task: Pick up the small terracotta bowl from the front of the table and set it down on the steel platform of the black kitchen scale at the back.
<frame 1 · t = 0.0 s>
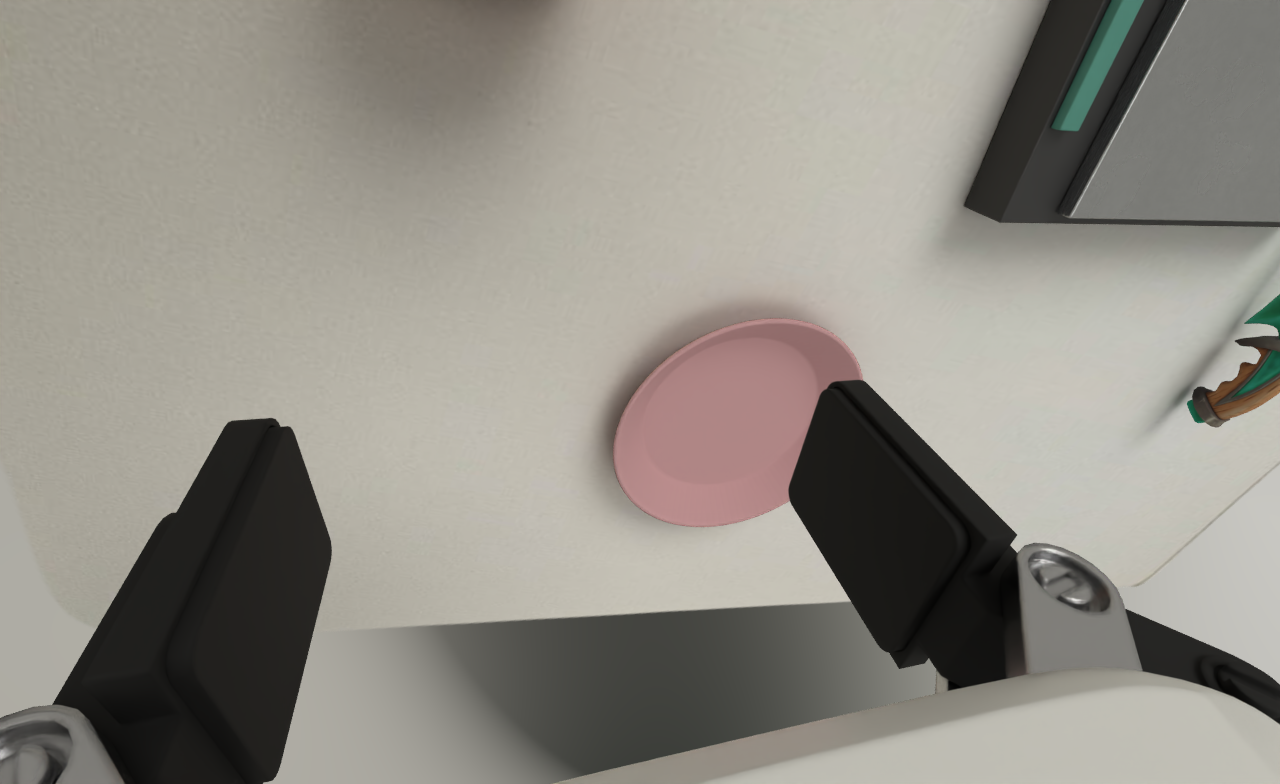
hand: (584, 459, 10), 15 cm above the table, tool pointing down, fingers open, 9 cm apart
knife: (1274, 275, 36), on the table
scale: (1235, 62, 26), on the table
plate: (728, 412, 32), on the table
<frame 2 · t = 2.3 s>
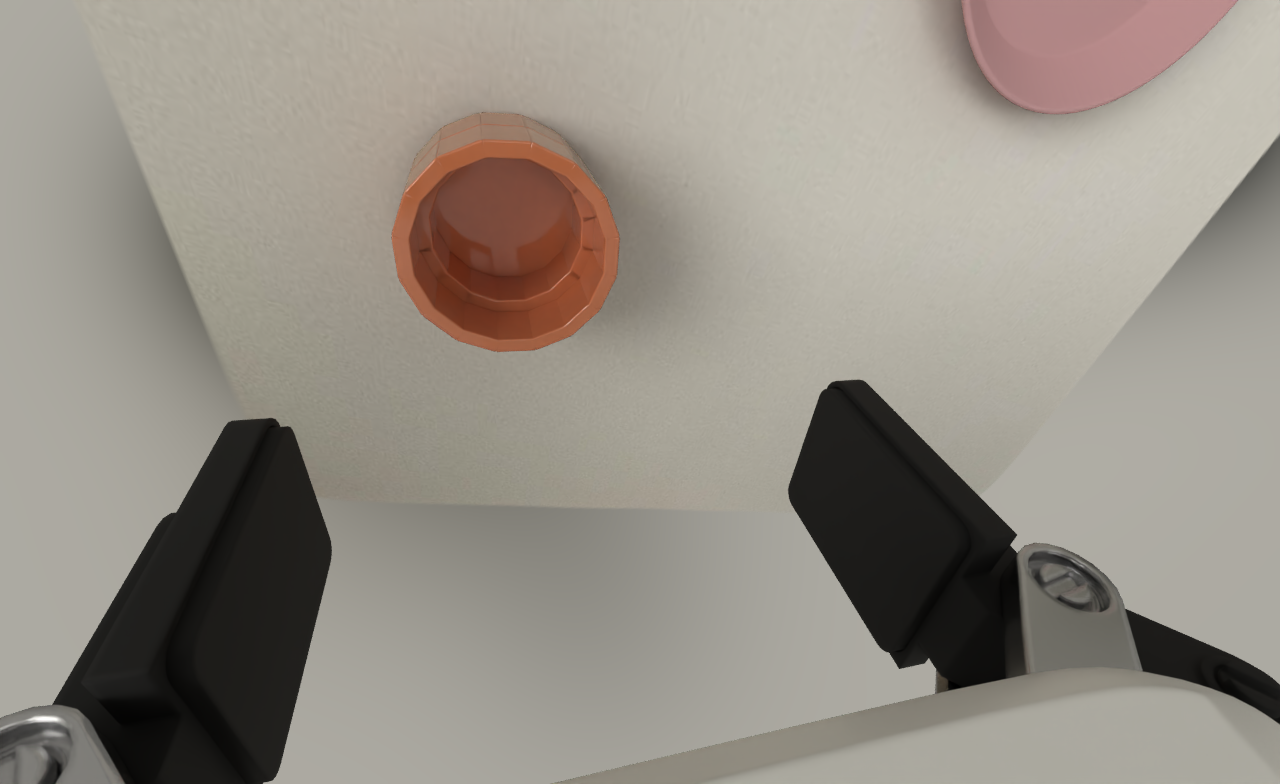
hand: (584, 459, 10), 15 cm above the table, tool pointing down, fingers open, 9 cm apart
bowl: (504, 208, 22), on the table
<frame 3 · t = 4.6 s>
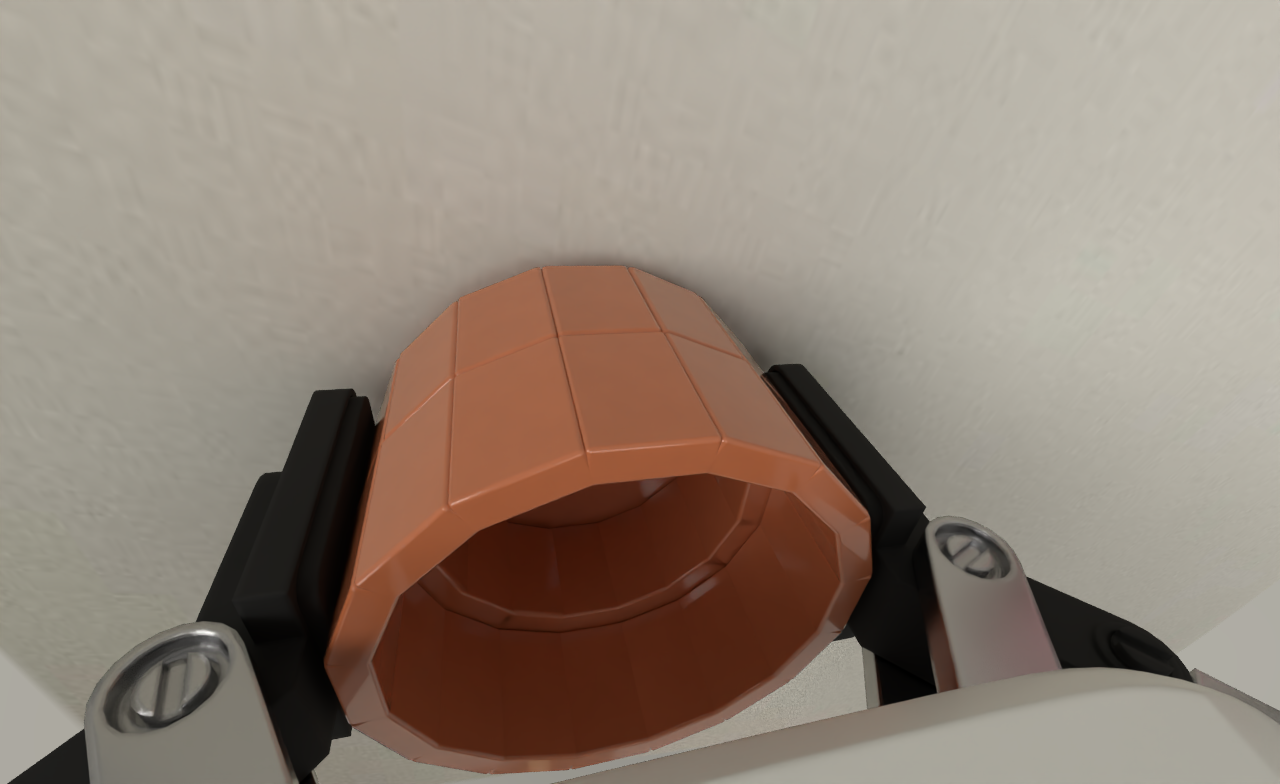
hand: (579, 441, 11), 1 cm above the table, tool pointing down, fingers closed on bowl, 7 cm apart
bowl: (573, 415, 11), on the table, touching gripper
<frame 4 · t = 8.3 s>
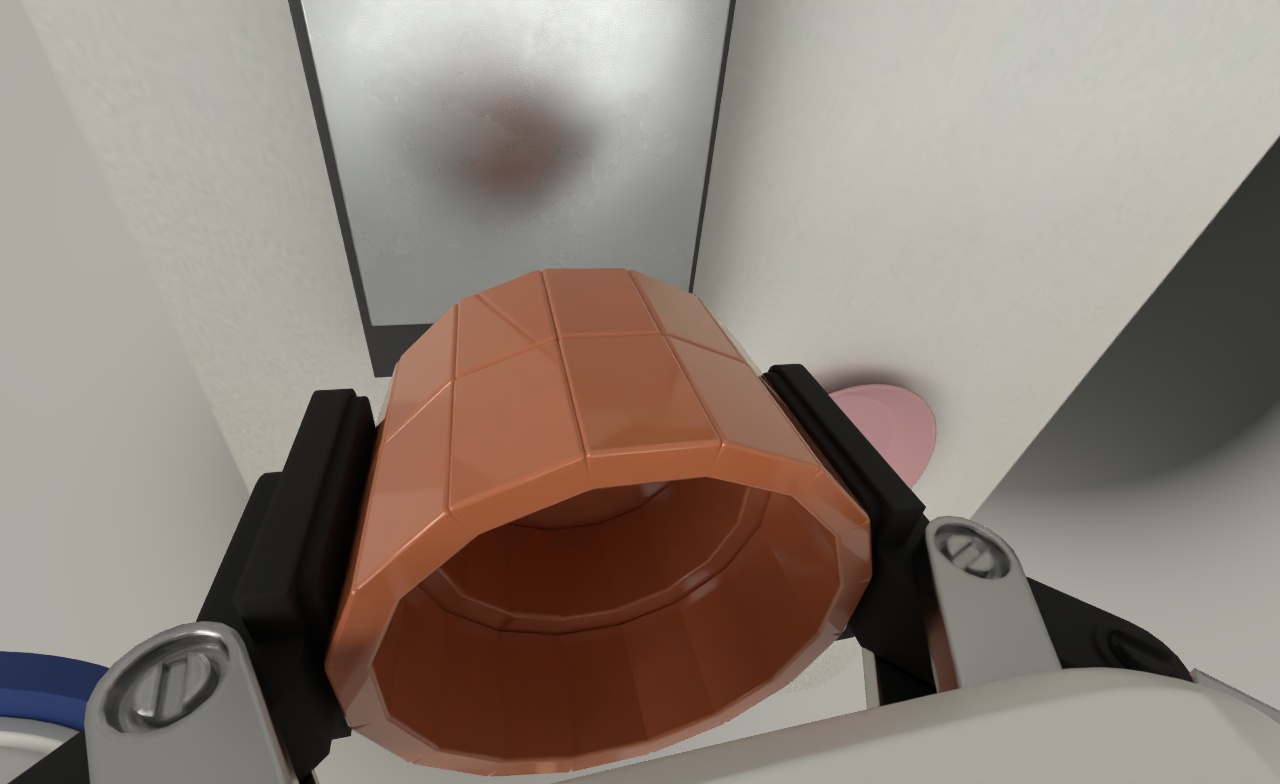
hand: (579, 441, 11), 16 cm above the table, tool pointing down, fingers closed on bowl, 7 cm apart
bowl: (573, 417, 11), point 15 cm above the table, touching gripper
scale: (525, 61, 21), on the table
plate: (819, 453, 38), on the table
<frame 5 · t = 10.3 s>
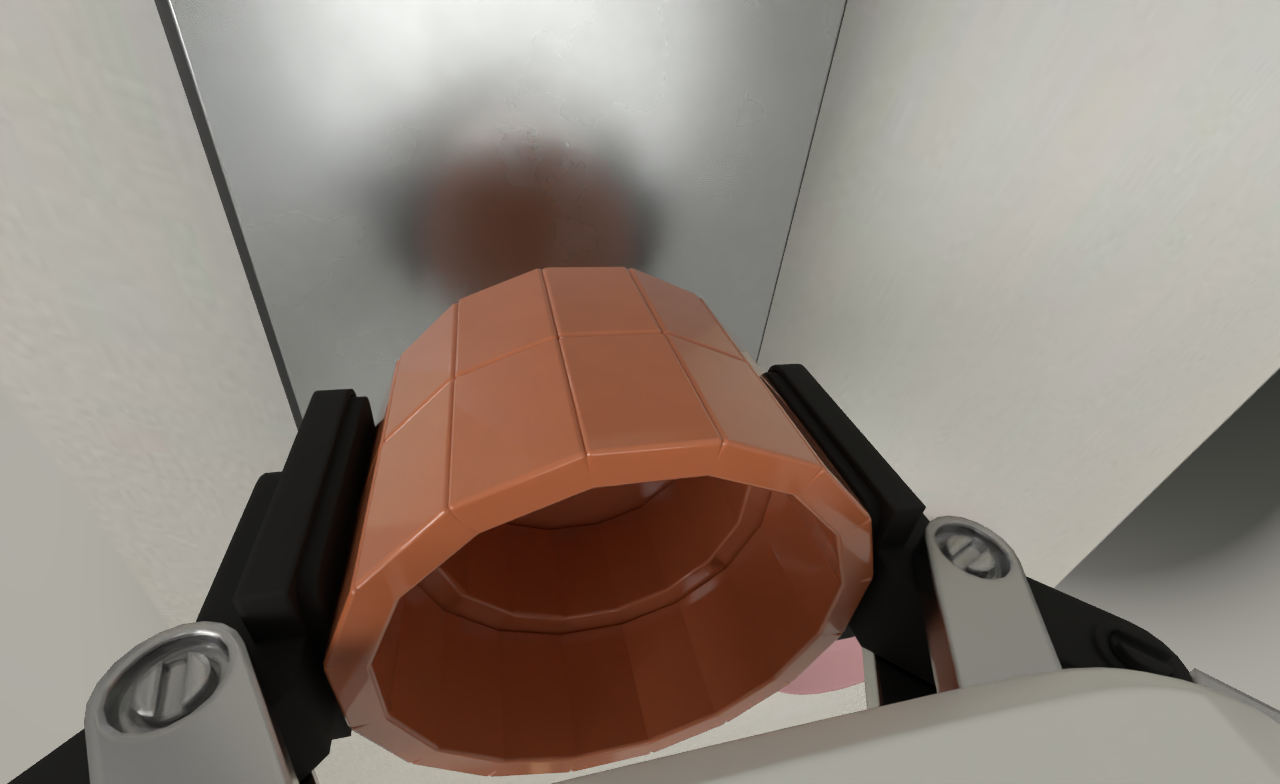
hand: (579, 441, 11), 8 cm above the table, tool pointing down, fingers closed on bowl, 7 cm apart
bowl: (574, 417, 11), point 8 cm above the table, touching gripper
scale: (536, 269, 17), on the table
plate: (849, 597, 35), on the table
when the fingers open (4 cm above the table, at t = 12.0 s): bowl stays where it is, resting on scale.
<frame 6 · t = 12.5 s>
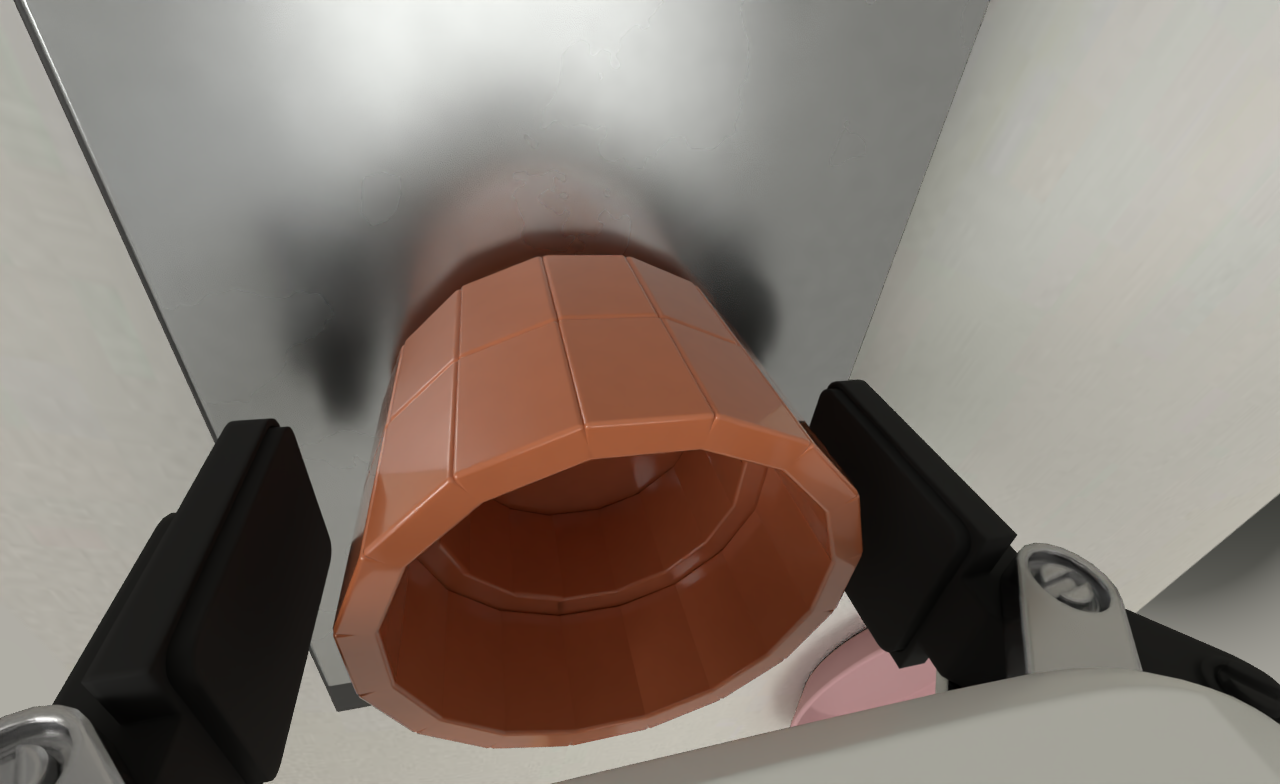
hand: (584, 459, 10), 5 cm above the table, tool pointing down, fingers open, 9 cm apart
bowl: (573, 404, 11), point 3 cm above the table, touching scale
scale: (555, 328, 14), on the table
plate: (890, 657, 31), on the table
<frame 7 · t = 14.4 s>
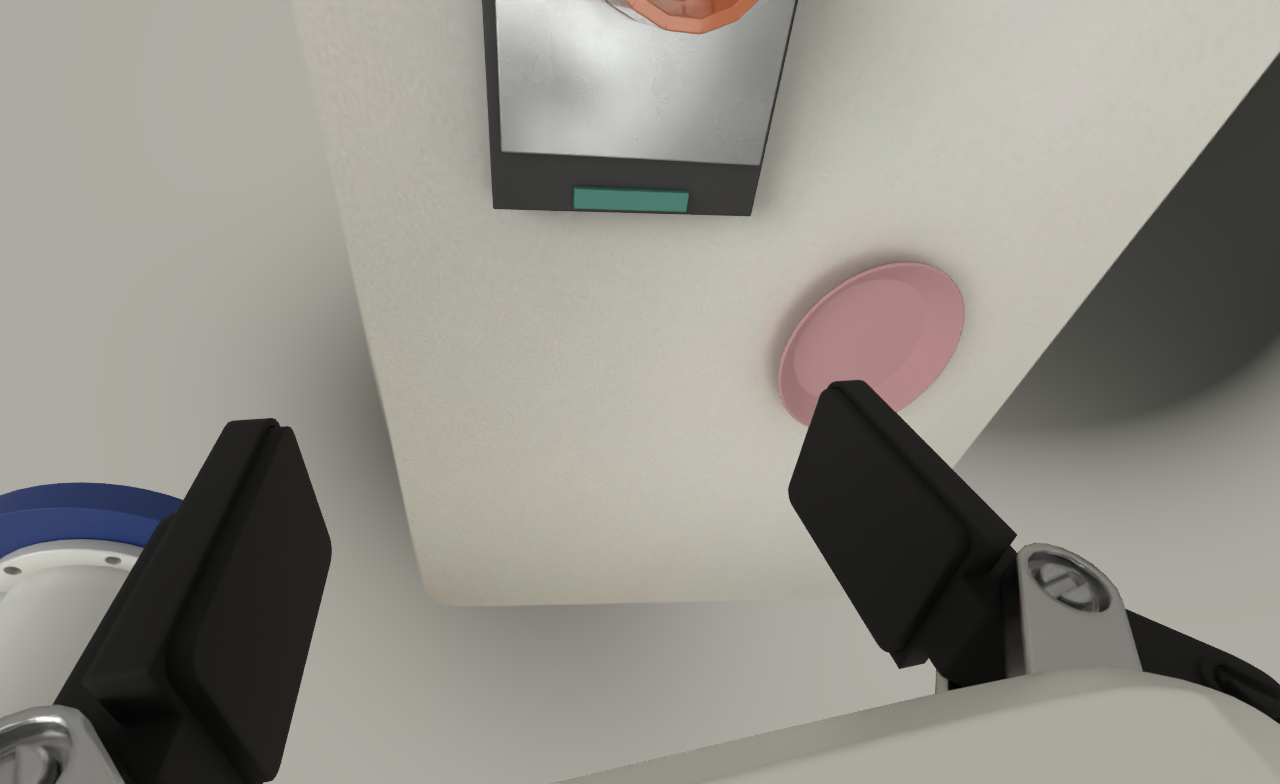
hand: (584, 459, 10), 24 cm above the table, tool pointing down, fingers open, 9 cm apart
plate: (855, 340, 42), on the table
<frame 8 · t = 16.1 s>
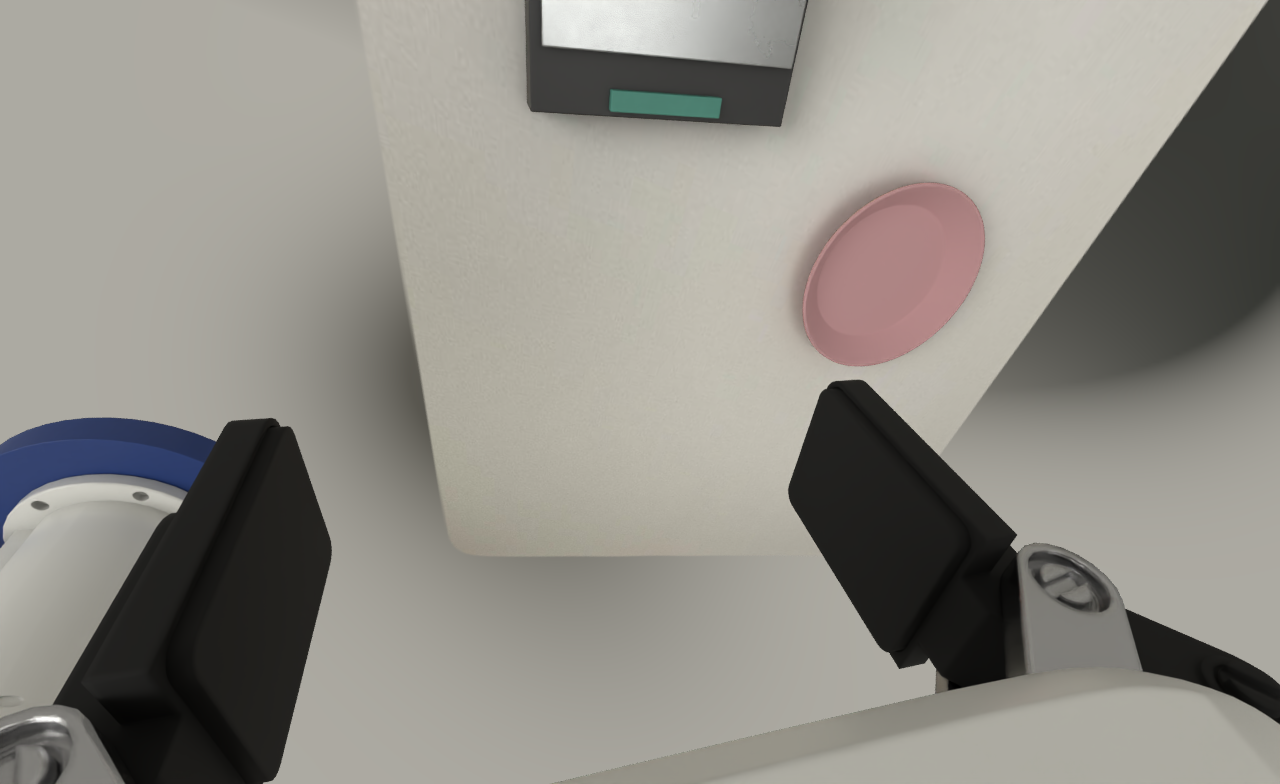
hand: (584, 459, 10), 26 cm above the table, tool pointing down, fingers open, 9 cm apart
plate: (877, 272, 42), on the table
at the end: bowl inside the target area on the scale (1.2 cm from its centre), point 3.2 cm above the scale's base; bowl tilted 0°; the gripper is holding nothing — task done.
